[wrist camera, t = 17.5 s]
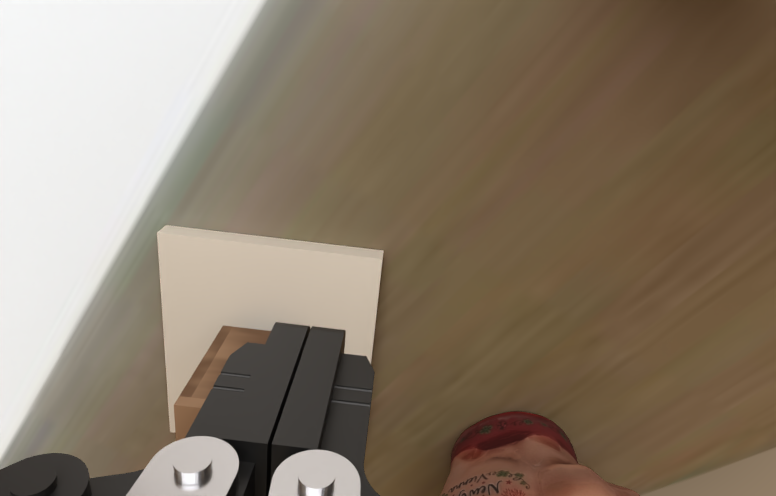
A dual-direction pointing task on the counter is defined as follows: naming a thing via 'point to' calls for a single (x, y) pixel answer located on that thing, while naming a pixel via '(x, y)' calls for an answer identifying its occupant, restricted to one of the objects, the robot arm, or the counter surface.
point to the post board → (258, 292)
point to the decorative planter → (521, 461)
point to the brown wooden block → (210, 373)
